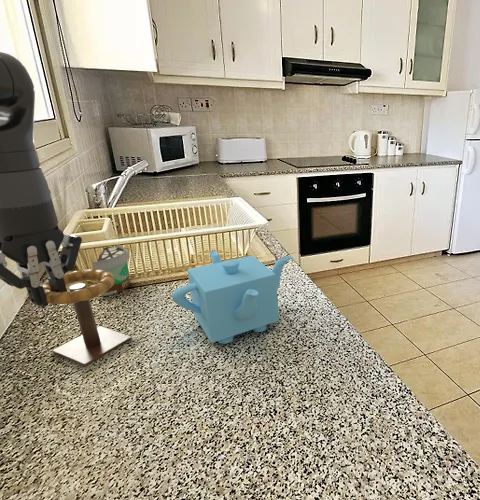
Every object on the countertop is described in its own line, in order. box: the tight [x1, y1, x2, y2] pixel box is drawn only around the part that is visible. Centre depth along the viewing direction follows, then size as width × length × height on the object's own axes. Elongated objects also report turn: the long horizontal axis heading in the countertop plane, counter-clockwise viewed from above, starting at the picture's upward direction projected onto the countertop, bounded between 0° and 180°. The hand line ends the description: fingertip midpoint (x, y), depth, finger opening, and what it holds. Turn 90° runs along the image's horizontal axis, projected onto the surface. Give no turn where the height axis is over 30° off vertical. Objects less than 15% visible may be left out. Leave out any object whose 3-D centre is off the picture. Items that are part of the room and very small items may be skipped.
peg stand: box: [51, 282, 133, 368], centre depth 68 cm, size 9×9×14 cm
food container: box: [92, 245, 131, 297], centre depth 91 cm, size 12×6×10 cm, turn 22°
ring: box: [40, 268, 115, 305], centre depth 65 cm, size 11×11×2 cm
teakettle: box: [171, 250, 293, 345], centre depth 77 cm, size 19×19×15 cm
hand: (50, 301), depth 62 cm, fingers closed on ring, 2 cm apart
